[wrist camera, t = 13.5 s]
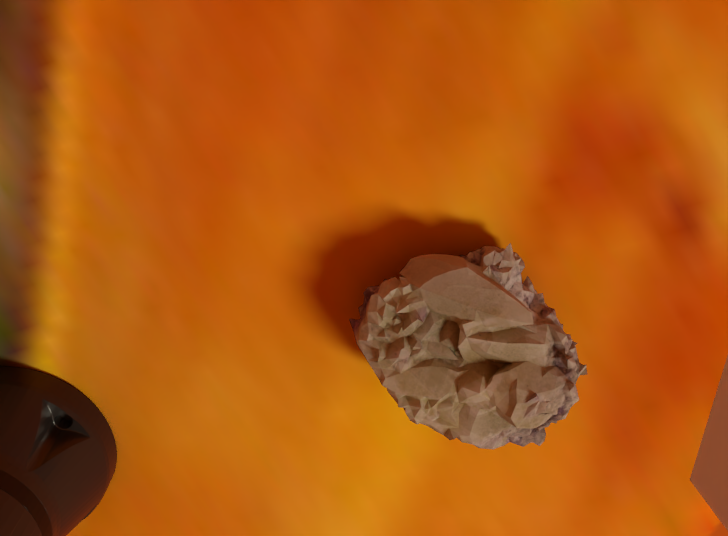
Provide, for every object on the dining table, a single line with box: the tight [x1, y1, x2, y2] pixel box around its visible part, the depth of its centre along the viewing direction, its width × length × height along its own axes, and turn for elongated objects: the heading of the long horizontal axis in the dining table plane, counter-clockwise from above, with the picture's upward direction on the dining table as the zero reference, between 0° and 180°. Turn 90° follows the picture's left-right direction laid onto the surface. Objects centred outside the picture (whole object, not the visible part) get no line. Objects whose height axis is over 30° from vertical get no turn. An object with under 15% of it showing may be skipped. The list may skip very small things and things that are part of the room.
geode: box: [349, 243, 587, 449], centre depth 47 cm, size 17×9×15 cm
